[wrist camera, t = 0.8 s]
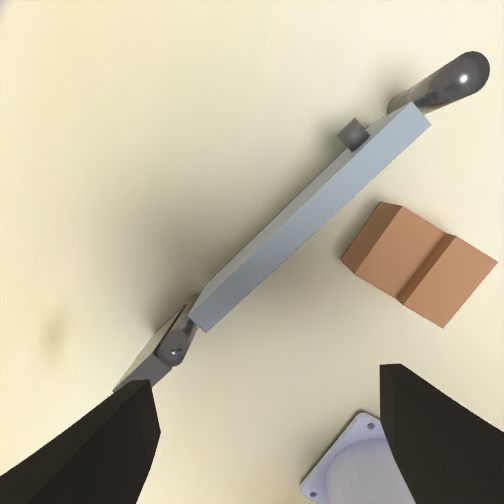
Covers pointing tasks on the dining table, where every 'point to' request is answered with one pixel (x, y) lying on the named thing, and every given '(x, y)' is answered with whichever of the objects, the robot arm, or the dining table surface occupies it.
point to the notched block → (417, 262)
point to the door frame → (422, 95)
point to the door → (310, 209)
